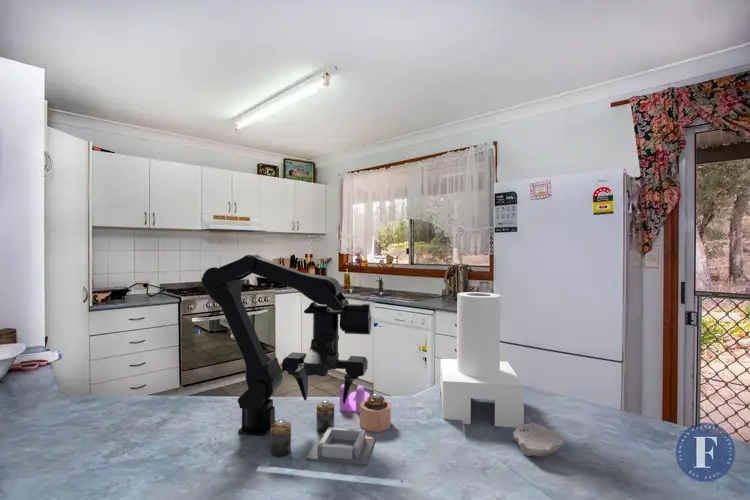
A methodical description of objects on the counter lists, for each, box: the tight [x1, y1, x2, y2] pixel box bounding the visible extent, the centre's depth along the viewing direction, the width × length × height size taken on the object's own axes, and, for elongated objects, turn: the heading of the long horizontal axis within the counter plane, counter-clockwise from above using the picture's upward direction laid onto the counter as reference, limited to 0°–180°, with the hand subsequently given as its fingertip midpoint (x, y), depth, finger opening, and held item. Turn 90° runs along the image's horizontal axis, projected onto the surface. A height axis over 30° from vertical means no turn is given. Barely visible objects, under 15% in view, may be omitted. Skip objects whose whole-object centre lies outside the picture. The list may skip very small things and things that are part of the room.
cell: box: [315, 399, 335, 434], centre depth 87 cm, size 4×4×7 cm
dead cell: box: [367, 392, 385, 410], centre depth 89 cm, size 4×4×7 cm
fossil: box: [512, 422, 565, 458], centre depth 79 cm, size 9×6×10 cm
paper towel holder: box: [439, 291, 525, 428], centre depth 100 cm, size 19×19×30 cm
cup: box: [359, 398, 392, 433], centre depth 89 cm, size 7×7×5 cm
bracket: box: [339, 383, 371, 414], centre depth 102 cm, size 13×6×7 cm, turn 169°
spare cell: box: [270, 418, 292, 458], centre depth 77 cm, size 4×4×7 cm
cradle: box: [305, 426, 376, 467], centre depth 78 cm, size 12×10×3 cm
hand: (324, 401), depth 87 cm, fingers open, 9 cm apart
